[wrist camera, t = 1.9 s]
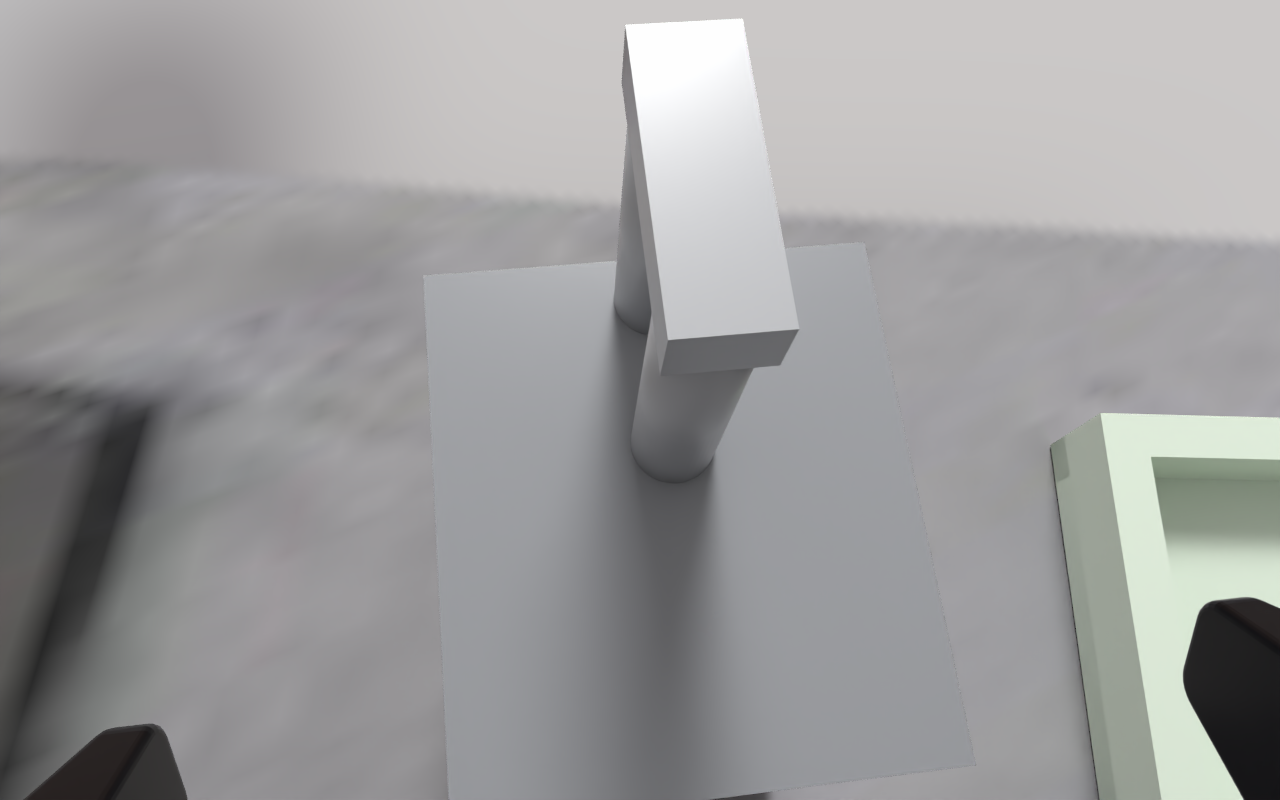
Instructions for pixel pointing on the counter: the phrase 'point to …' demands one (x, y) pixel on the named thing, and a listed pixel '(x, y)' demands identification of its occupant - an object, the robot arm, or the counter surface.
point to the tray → (1161, 579)
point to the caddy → (681, 489)
